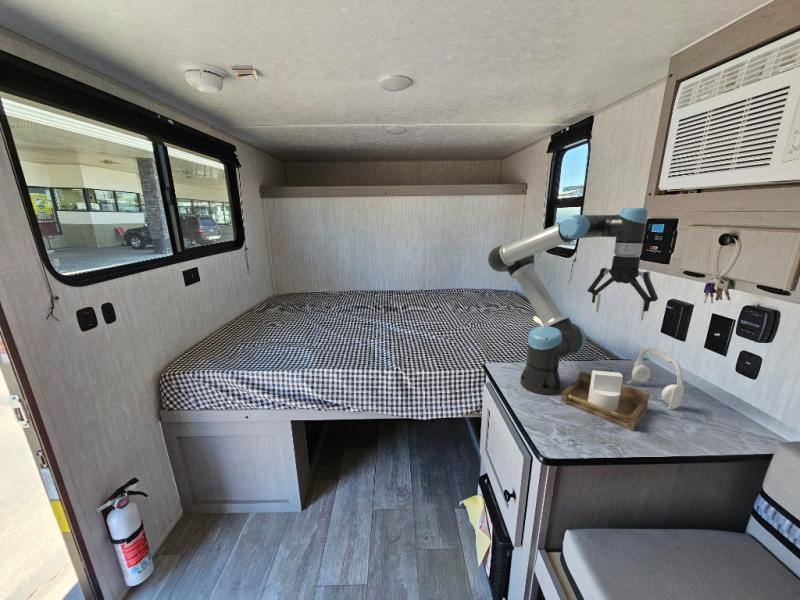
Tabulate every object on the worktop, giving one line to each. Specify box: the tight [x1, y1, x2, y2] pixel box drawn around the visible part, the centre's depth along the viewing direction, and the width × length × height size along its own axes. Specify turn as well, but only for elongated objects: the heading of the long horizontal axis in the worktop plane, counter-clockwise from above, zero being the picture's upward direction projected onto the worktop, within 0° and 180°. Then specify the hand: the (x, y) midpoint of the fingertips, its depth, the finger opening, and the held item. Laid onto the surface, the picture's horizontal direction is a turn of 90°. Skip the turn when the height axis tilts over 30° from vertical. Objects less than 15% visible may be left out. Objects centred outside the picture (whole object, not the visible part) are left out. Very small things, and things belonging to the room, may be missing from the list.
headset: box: [626, 347, 685, 411], centre depth 117 cm, size 20×7×18 cm, turn 0°
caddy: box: [560, 370, 651, 431], centre depth 112 cm, size 22×16×7 cm
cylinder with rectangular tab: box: [588, 369, 624, 411], centre depth 110 cm, size 9×9×12 cm
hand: (617, 315), depth 111 cm, fingers open, 13 cm apart
